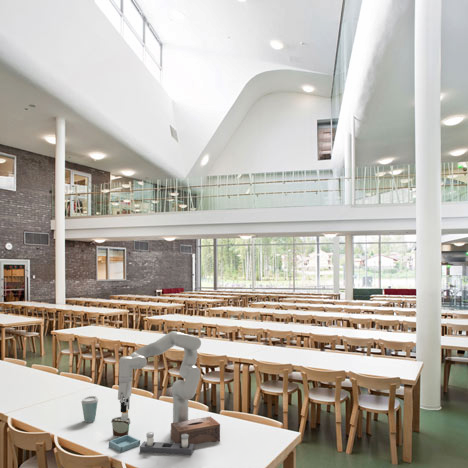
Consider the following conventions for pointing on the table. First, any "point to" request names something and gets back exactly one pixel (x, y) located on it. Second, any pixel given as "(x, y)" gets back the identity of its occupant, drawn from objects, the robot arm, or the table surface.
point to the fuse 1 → (150, 439)
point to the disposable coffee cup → (89, 408)
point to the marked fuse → (125, 413)
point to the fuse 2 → (184, 440)
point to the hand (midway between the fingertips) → (124, 410)
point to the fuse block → (167, 448)
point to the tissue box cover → (196, 430)
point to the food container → (120, 426)
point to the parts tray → (124, 443)
